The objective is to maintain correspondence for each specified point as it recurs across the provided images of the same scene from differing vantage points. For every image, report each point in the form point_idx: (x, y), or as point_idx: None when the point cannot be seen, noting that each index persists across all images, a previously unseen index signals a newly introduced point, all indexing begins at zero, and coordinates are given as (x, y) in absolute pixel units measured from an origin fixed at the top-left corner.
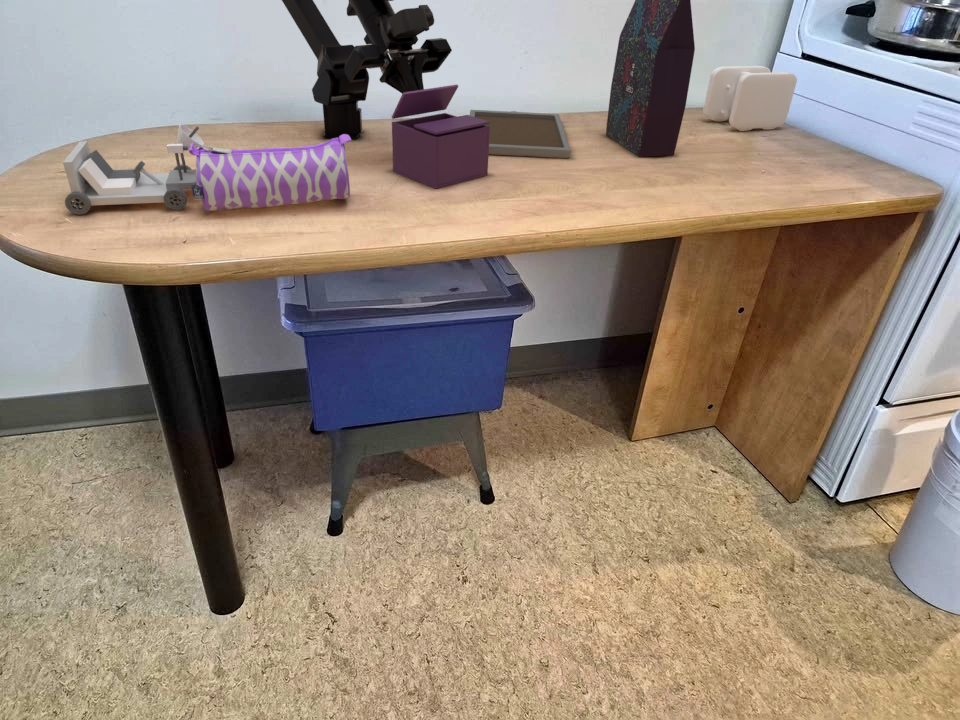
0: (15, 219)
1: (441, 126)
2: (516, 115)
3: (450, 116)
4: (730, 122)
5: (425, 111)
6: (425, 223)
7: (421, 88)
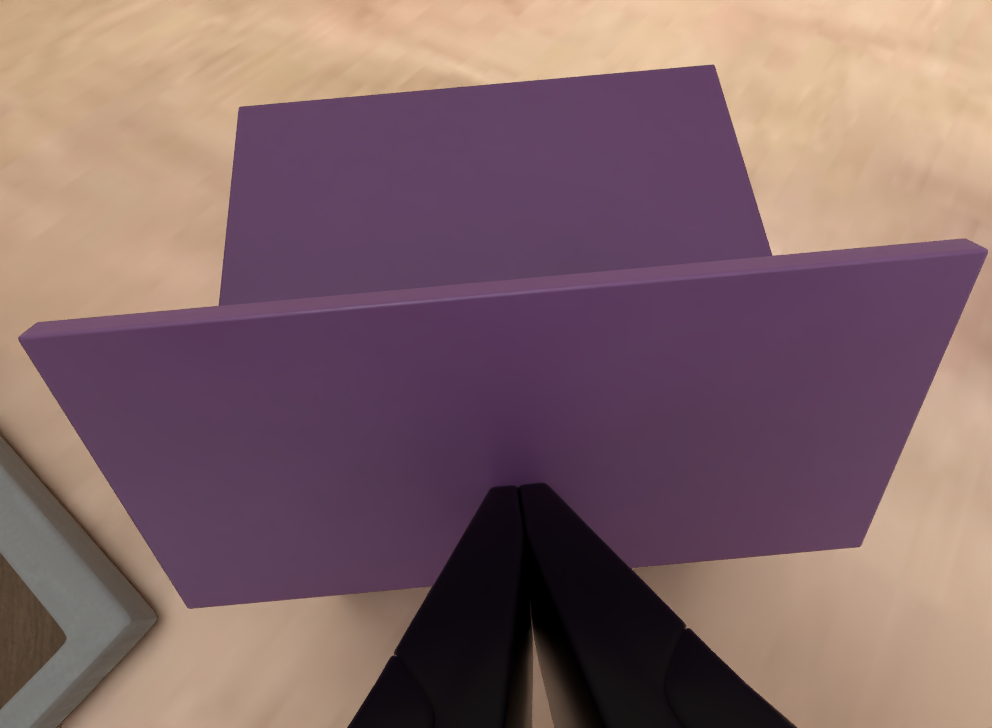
0: None
1: (608, 143)
2: None
3: None
4: None
5: None
6: (833, 45)
7: (482, 573)
